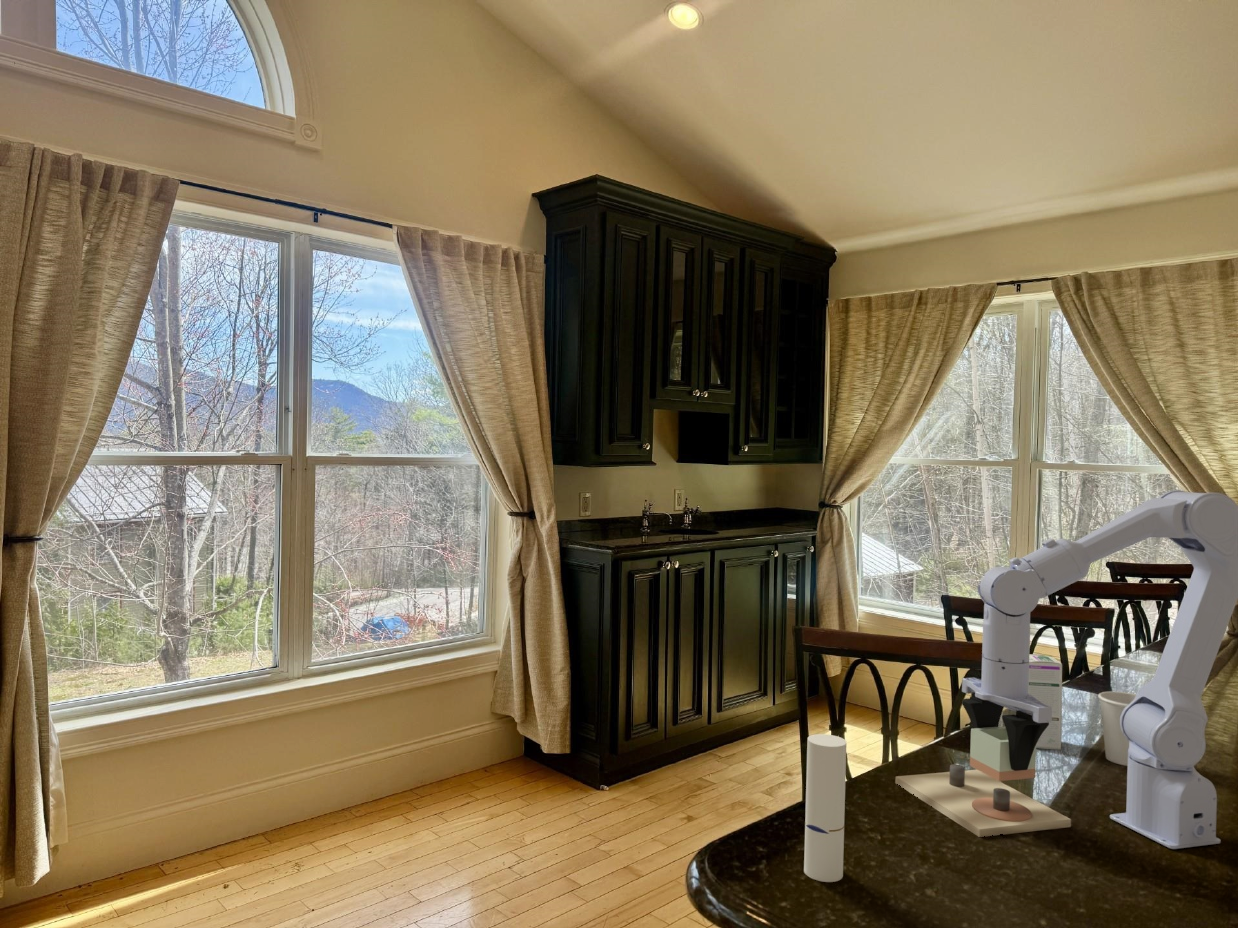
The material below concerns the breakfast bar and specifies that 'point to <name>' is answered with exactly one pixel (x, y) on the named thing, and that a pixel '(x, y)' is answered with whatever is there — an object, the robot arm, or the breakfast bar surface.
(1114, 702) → the dixie cup
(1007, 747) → the sleeve
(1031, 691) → the syrup box
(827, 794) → the tube
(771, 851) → the breakfast bar surface
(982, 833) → the pin board
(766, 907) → the breakfast bar surface
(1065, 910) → the breakfast bar surface
